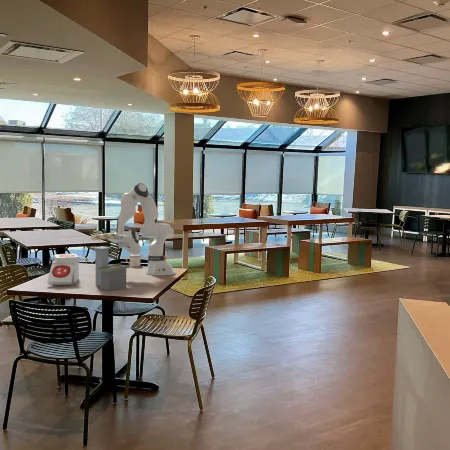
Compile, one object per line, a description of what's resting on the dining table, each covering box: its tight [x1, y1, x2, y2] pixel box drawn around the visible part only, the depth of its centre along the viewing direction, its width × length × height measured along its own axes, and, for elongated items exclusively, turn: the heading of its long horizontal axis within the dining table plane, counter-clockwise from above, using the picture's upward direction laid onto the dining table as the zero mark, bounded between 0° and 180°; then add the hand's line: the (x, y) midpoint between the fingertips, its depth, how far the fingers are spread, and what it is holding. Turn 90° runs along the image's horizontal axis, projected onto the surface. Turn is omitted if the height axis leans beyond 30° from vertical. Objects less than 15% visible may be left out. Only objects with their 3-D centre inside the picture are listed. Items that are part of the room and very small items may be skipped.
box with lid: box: [98, 263, 131, 292], centre depth 334 cm, size 20×9×15 cm, turn 146°
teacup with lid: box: [125, 253, 141, 268], centre depth 417 cm, size 12×9×12 cm
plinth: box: [93, 245, 111, 287], centre depth 342 cm, size 8×8×26 cm
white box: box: [47, 253, 80, 286], centre depth 347 cm, size 19×30×18 cm, turn 5°
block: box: [90, 232, 118, 241], centre depth 342 cm, size 22×3×3 cm, turn 147°
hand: (112, 234), depth 347 cm, fingers closed on block, 3 cm apart
